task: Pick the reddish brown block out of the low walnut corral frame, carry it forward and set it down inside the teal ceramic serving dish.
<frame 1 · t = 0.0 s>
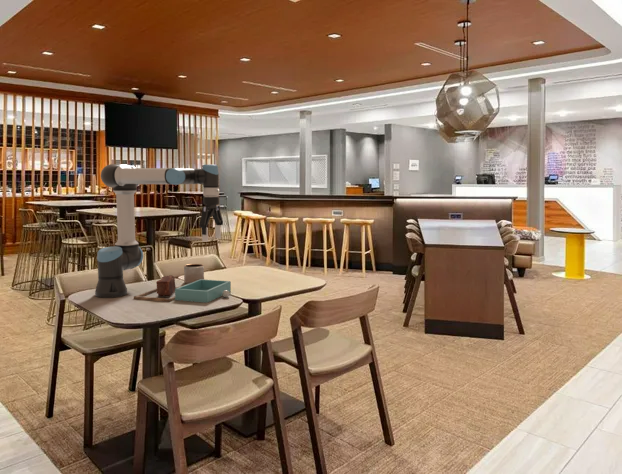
hand: (211, 239, 259), 28 cm above the table, fingers open, 13 cm apart
dish: (203, 295, 262), on the table
planter: (194, 282, 295), on the table
corral: (165, 294, 264), on the table
reddish brown block: (166, 295, 264), on the table
pebble a: (225, 297, 259), on the table
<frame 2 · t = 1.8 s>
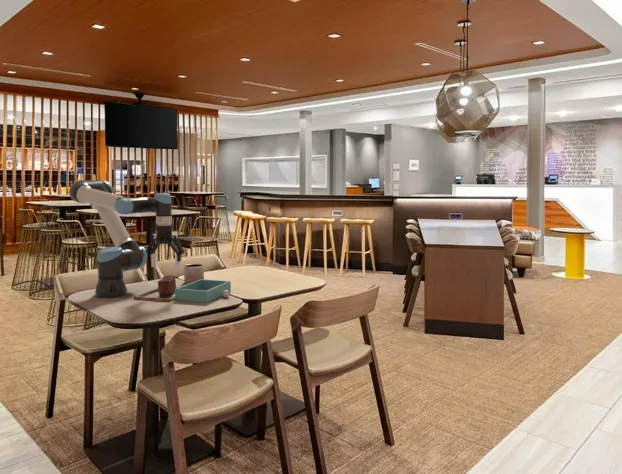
hand: (165, 267, 262), 14 cm above the table, fingers open, 13 cm apart
nothing on the table moved.
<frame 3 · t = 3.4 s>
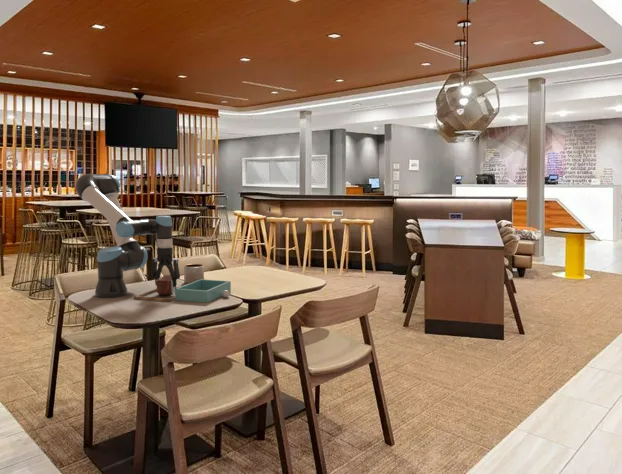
hand: (166, 292, 264), 1 cm above the table, fingers closed on reddish brown block, 7 cm apart
reddish brown block: (166, 294, 265), on the table, touching gripper
everything else where it was.
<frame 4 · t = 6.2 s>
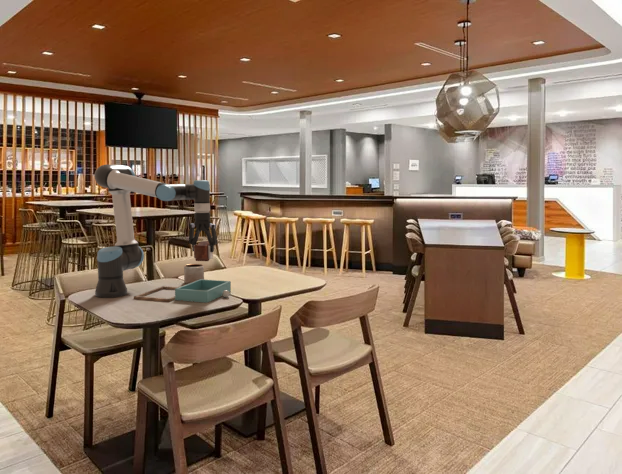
hand: (203, 258, 260), 19 cm above the table, fingers closed on reddish brown block, 7 cm apart
reddish brown block: (203, 260, 261), point 17 cm above the table, touching gripper
everything else where it was.
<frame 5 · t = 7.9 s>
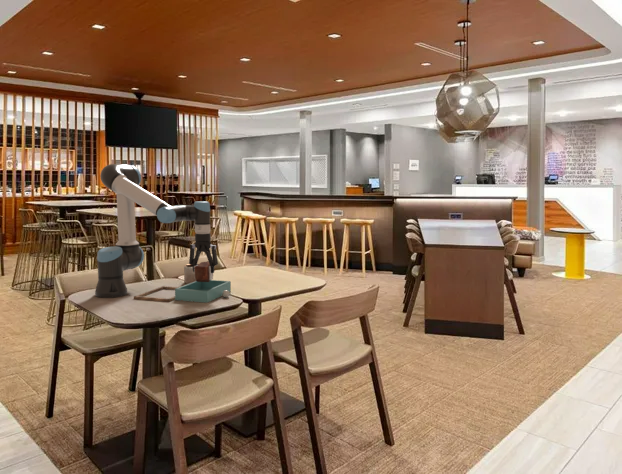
hand: (203, 278, 261), 8 cm above the table, fingers closed on reddish brown block, 7 cm apart
reddish brown block: (204, 281, 263), point 7 cm above the table, touching gripper
everything else where it was.
when the fingers open (5 cm above the table, at t = 9.1 s): reddish brown block drops 3 cm, resting on dish.
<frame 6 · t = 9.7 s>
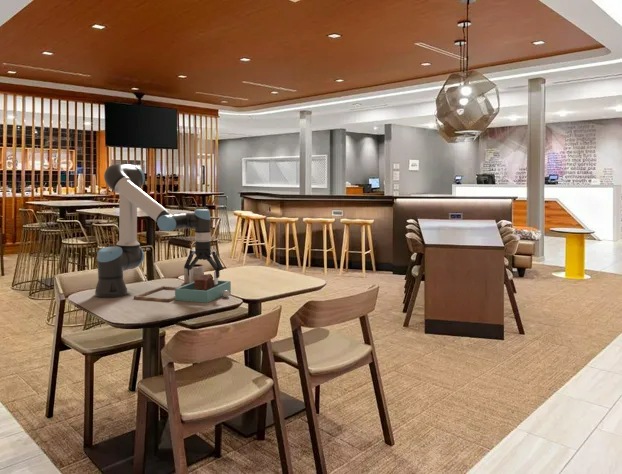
hand: (203, 283, 262), 6 cm above the table, fingers open, 13 cm apart
reddish brown block: (204, 293, 263), point 1 cm above the table, touching dish
everything else where it was.
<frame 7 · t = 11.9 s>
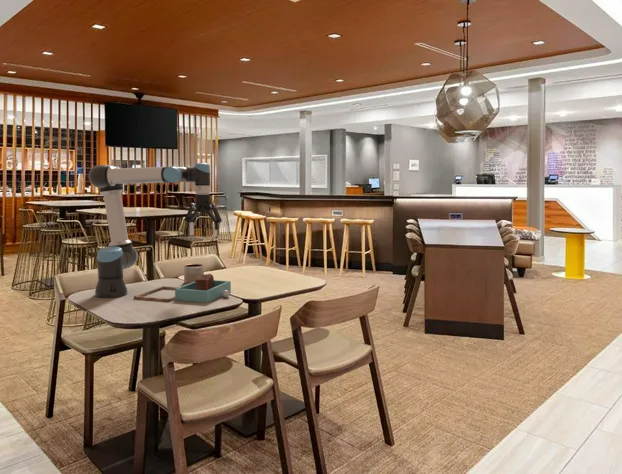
hand: (203, 235, 270), 29 cm above the table, fingers open, 13 cm apart
nothing on the table moved.
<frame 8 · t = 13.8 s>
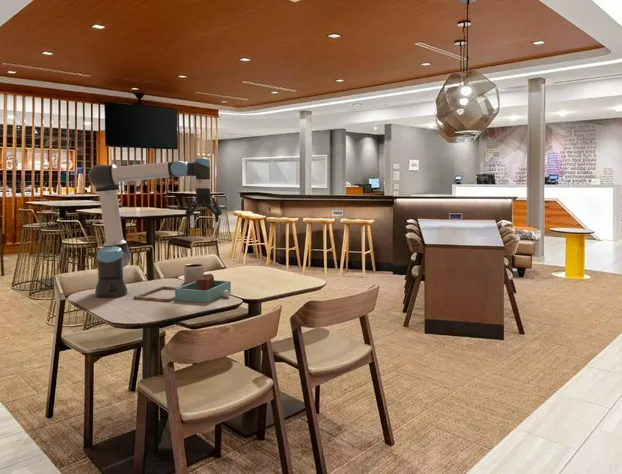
hand: (203, 228, 278), 32 cm above the table, fingers open, 13 cm apart
nothing on the table moved.
at the end: reddish brown block 1.8 cm from the dish (horizontally); reddish brown block point 0.6 cm above the table; the gripper is holding nothing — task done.
